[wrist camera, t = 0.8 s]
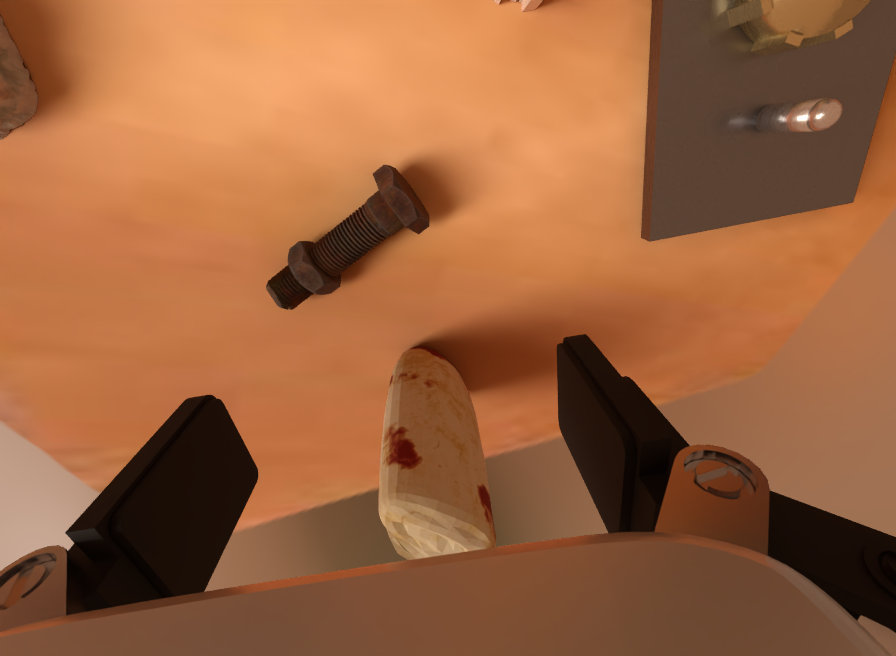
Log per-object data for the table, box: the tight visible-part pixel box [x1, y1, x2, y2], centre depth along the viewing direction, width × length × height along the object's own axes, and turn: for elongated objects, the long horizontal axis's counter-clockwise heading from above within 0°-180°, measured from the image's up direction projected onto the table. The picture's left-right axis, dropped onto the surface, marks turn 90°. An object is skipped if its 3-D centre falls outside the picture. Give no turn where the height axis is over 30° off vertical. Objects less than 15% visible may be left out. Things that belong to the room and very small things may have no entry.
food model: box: [379, 347, 496, 560], centre depth 32 cm, size 10×7×20 cm
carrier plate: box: [641, 0, 896, 241], centre depth 27 cm, size 24×18×7 cm
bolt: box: [266, 165, 429, 310], centre depth 32 cm, size 6×5×15 cm
